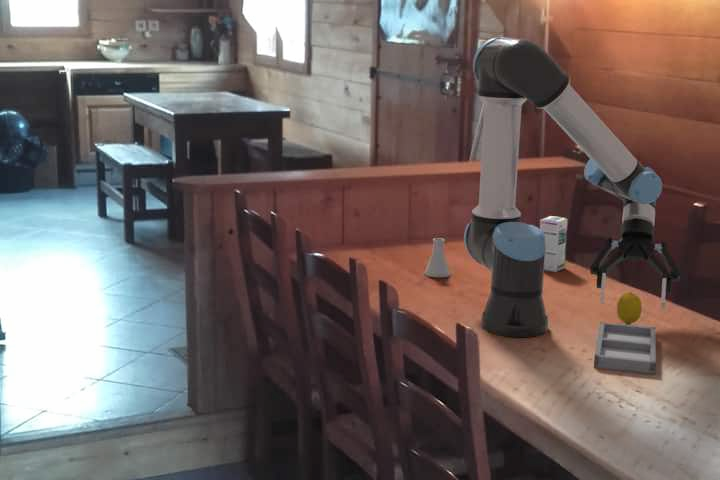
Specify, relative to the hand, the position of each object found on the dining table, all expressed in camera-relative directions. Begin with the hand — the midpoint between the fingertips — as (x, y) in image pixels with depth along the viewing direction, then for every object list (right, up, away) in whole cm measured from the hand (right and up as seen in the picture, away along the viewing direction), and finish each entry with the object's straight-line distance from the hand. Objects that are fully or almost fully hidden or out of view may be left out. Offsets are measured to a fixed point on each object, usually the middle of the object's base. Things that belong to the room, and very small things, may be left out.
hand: (632, 302), depth 225 cm
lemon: (0, -5, +2) cm, 6 cm away
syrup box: (-9, +6, +49) cm, 50 cm away
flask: (-42, +5, +41) cm, 59 cm away
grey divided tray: (-6, -10, -16) cm, 19 cm away
